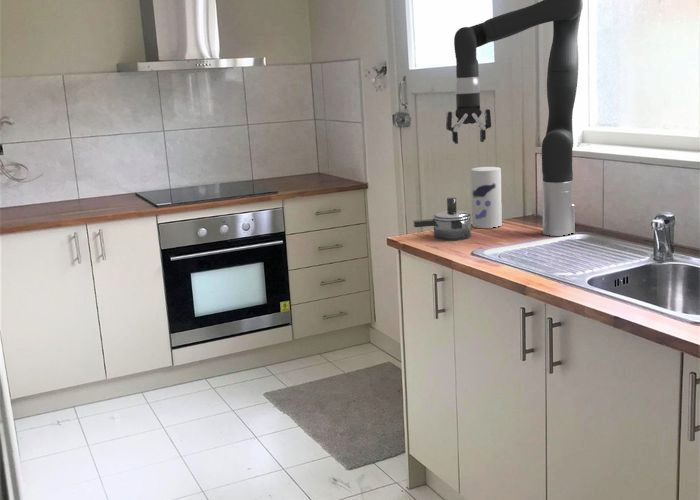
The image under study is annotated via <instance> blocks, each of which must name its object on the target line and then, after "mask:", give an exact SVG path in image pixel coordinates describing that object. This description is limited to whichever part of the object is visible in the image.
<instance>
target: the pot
mask: <svg viewBox="0 0 700 500" xmlns="http://www.w3.org/2000/svg"><path fill="white" fill-rule="evenodd" d="M471 219H472V213H468V216H467V217H464V218H457V219H442V218H437V217H436V214H433V215H432V218H431V219H417V220H414V219H413V227H414V228H424V227H425V228H426V227H433V238H434V239H435V240H438V241H444V242H445V241H446V242H447V241H449V242H452V241H462V240H467V239H470V238H471V235H472V232H471V228H472V227H471Z"/></svg>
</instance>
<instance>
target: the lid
mask: <svg viewBox="0 0 700 500" xmlns="http://www.w3.org/2000/svg"><path fill="white" fill-rule="evenodd" d="M446 207H447V208H446V210H443V211H442V210H441V211H439V212H436V213H435V215H436V217H437V218H442V219H457V218H464V217H467V216H468V214H469V212H468V211H466V210H457V197H446Z"/></svg>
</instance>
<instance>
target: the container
mask: <svg viewBox="0 0 700 500" xmlns="http://www.w3.org/2000/svg"><path fill="white" fill-rule="evenodd" d="M470 172H471V173H470V176H471V180H470V181H471V220H472V221H471V222H472V223H471V224H472V227H473V228H477V229H478V228H479V229H494V228H493V227H496V228H499V227H498V226H500V227H501V226H502V223H503V222H502V220H503V218H502V168H501V167H498V166H481V167H474V168H473V167H472V168H471V170H470Z"/></svg>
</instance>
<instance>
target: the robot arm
mask: <svg viewBox="0 0 700 500" xmlns="http://www.w3.org/2000/svg"><path fill="white" fill-rule="evenodd" d="M583 4H584V2H583V0H540V1H538V2H536V3H534V4H532V5H531V4H530V5H528V6H526V7H523V8H520V9H516V10H513V11H509V12H506V13H503V14H500V15H496V16H493V17H492V18H489V19H486V20H485V21H483V22H481V23H477V24H475V25H471V26H463V27H461V28H459V29H458V30H457V31H456V32H455V34H454V37H453V43H454V44H453V45H454V46H453V47H454V53H455V54H454V55H455V62H456V66H455V71H456V76H455V77H456V82H455V96H456V97H455V98H456V99H455V100H456V102H455V103H456V104H455V105H456V106H455V107H456V108H455V111H447V112H446V118H445V119H446V122H445V123H446V125H445V126H446V127H445V128H446V130H447V131H450V132H452V133H451V135H452V136H451V137H452V139H451V140H452V142H453V143H454V144H455V145H456V144H457V145H458V144H459V138H458V137H459V135H458V134H459V133H458V130H459V129H460V128H461V126H462V124H463V125H467V124H470V125H474V124H475V125H476V126H477V127H479V129H480V130H479V142H481V143H484V142H485V140H486V138H487V137H486V134H487V133H486V132H487V131H486V130H487V129H490V128H492V118H491V110H490V108H485V109H481V85H480V75H479V61H478V58H477V48H479V47H482V46H484V45H486V44H489V43H493V42H497V41H500V40H503V39H505V38H508V37H511V36H514V35H517V34H519V33H522V32H524V31H526V30H529V29H531V28H533V27H536V26H539V25H542V24H546V23H550V22H552V26H553V27H552V28H553V30H552V32H553V33H552V40H551V41H552V43H551V46H550V52H549V55H548V56H549V57H548V63H547V74H546V97H547V98H546V99H547V105H548V120H547V125H546V127H547V128H546V133H545V136H544V138H543V139H542V143H541V173H542V234H543V235H546V236H549V235H550V236H551V237H564V236H563V235H565V236H569V235H568V234H570V235H572V234H571V233H575V231H576V230H575V223H576V222H575V221H576V220H575V217H576V216H575V215H576V212H575V209H576V206H575V204H574V203H573V202H574V201H573V199H574V198H573V196H574V195H573V192H574V191H573V190H574V189H573V185H574V184H573V179H574V178H573V177H574V175H573V173H574V172H573V147H574V134H573V133H574V132H573V112H574V106H575V102H576V95H577V90H578V82H579V81H578V79H579V45H578V37H579V36H578V34H579V27H580V26H579V25H580V20H581V13H582V10H583V6H584V5H583ZM481 115H483V117H484V120H485V121H484V122H485V124H484V123H483V122H482V120H481V119H480V117H481ZM454 117H456V118H457V120H456V121H455V123H454V124H453V127H452V123H453V122H452V121H453V119H454ZM550 236H549V237H550Z"/></svg>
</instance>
